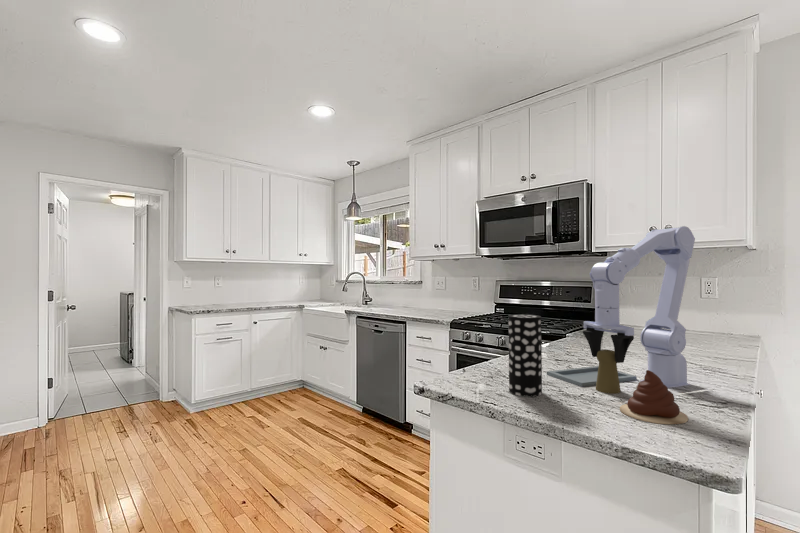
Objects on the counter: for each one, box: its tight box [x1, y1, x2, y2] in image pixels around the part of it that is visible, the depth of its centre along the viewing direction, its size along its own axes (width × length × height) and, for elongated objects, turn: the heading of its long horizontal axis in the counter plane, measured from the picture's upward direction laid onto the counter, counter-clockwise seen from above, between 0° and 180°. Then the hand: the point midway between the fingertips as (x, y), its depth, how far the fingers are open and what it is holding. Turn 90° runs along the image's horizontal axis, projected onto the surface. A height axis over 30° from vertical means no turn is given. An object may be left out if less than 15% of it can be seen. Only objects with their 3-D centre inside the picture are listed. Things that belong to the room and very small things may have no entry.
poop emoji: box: [626, 369, 681, 418], centre depth 92 cm, size 10×8×9 cm
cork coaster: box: [619, 403, 689, 426], centre depth 92 cm, size 13×13×1 cm
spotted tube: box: [508, 314, 543, 397], centre depth 109 cm, size 8×8×20 cm
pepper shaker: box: [595, 349, 621, 395], centre depth 108 cm, size 6×6×11 cm
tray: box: [546, 365, 638, 388], centre depth 122 cm, size 20×14×2 cm
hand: (607, 359), depth 108 cm, fingers open, 7 cm apart
